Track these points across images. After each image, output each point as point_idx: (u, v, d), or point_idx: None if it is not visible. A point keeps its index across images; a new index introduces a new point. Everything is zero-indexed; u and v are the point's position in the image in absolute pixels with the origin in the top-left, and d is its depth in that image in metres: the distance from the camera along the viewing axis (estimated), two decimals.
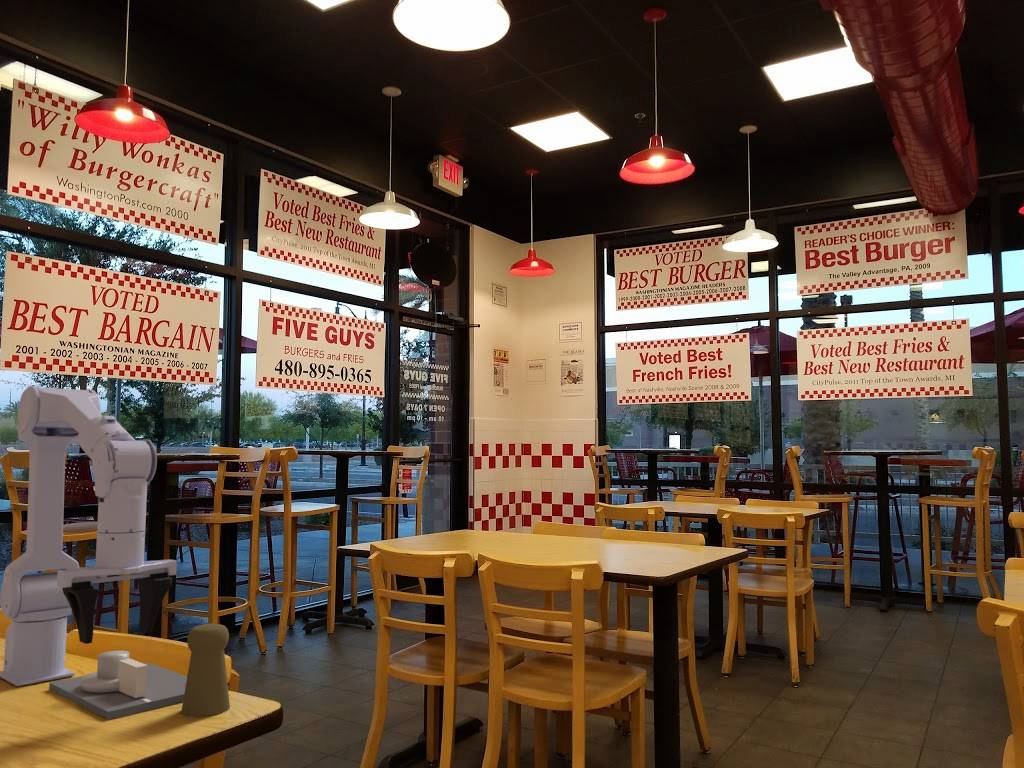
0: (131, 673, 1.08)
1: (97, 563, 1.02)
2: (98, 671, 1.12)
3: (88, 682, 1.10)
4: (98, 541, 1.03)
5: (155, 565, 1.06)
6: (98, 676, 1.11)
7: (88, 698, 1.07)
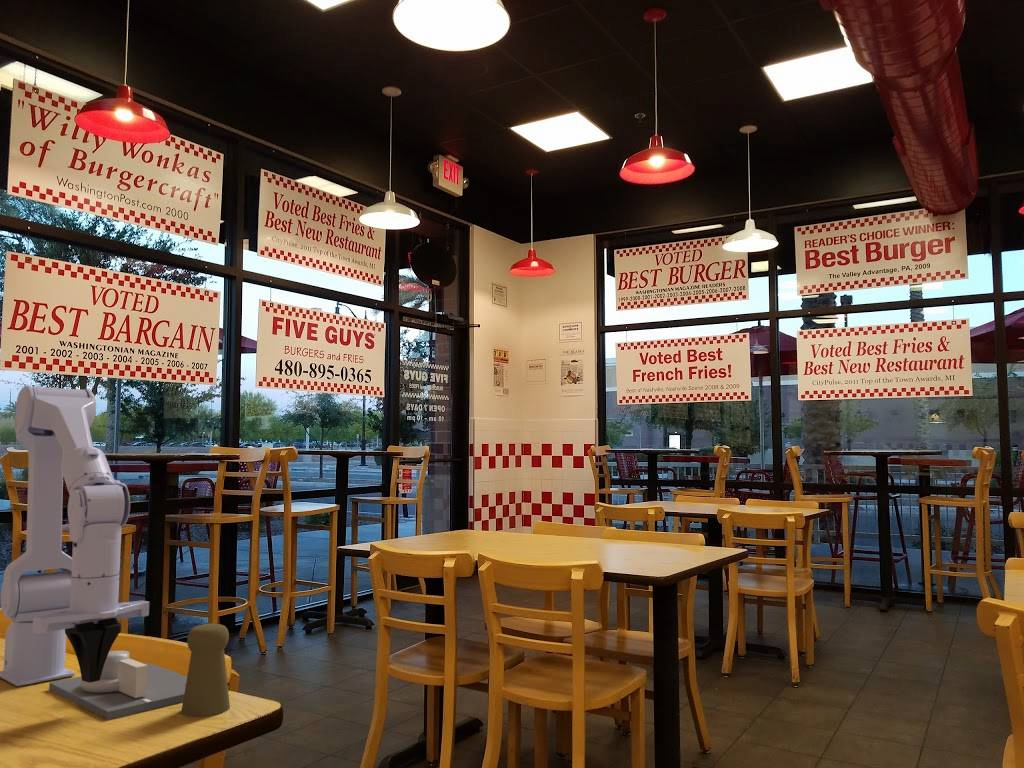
0: (131, 673, 1.08)
1: (72, 608, 1.03)
2: None
3: (88, 682, 1.10)
4: (73, 586, 1.04)
5: (129, 607, 1.08)
6: None
7: (88, 698, 1.07)
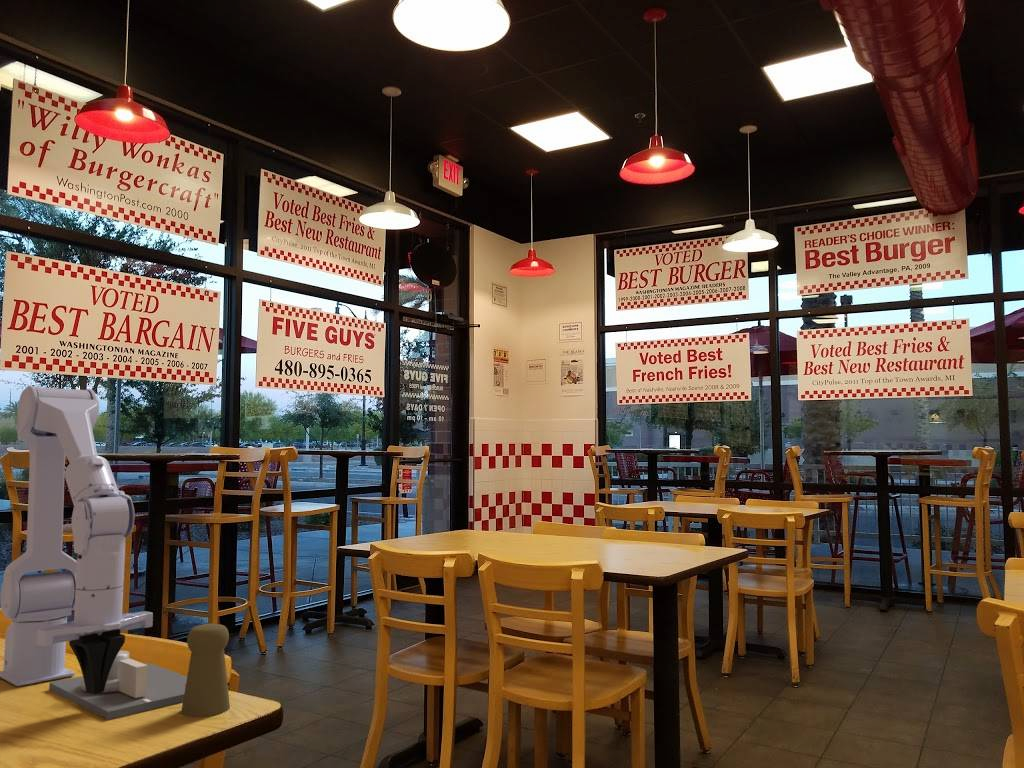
0: (131, 673, 1.08)
1: (77, 620, 1.04)
2: None
3: None
4: (77, 598, 1.04)
5: (133, 619, 1.08)
6: None
7: (88, 698, 1.07)
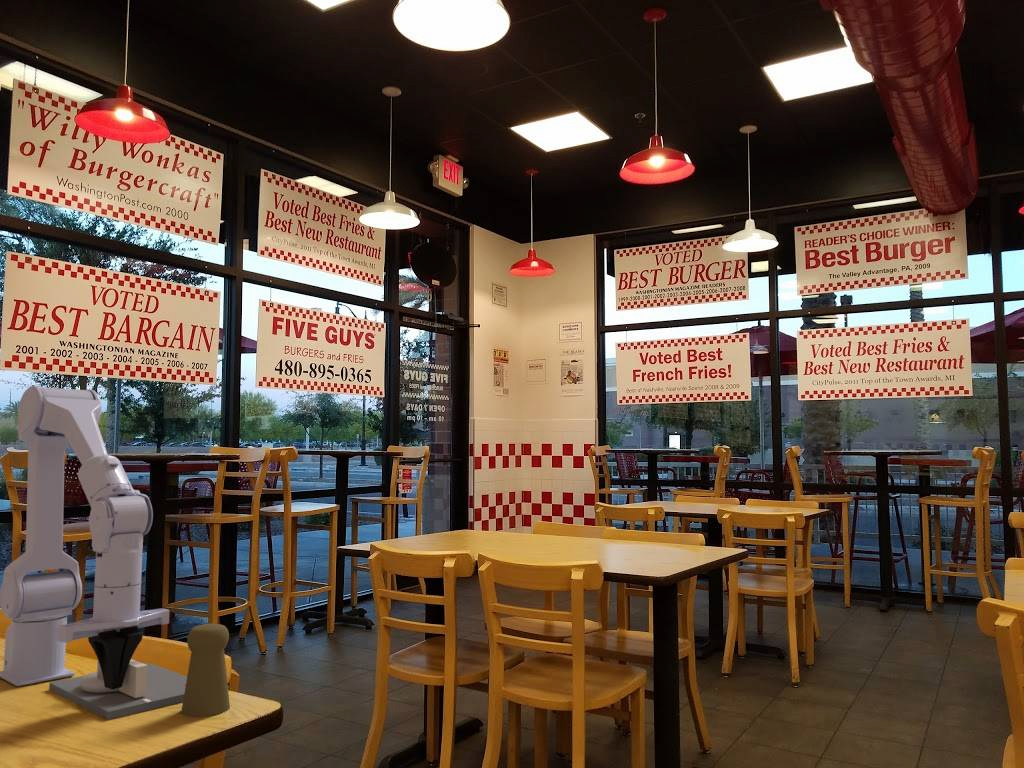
0: (131, 673, 1.08)
1: (96, 617, 1.06)
2: (98, 671, 1.12)
3: (88, 682, 1.10)
4: (96, 595, 1.06)
5: (150, 616, 1.10)
6: (98, 676, 1.11)
7: (88, 698, 1.07)
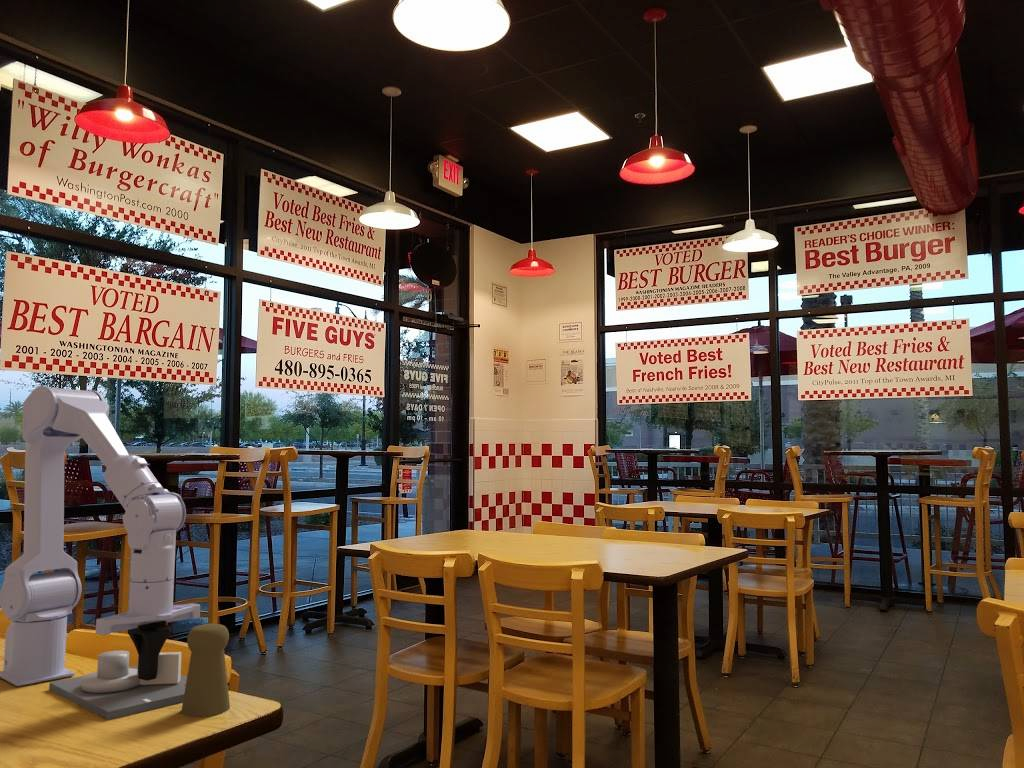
0: (166, 662, 1.13)
1: (131, 611, 1.10)
2: (107, 672, 1.11)
3: (110, 682, 1.09)
4: (132, 590, 1.10)
5: (183, 610, 1.14)
6: (108, 677, 1.11)
7: (88, 698, 1.07)
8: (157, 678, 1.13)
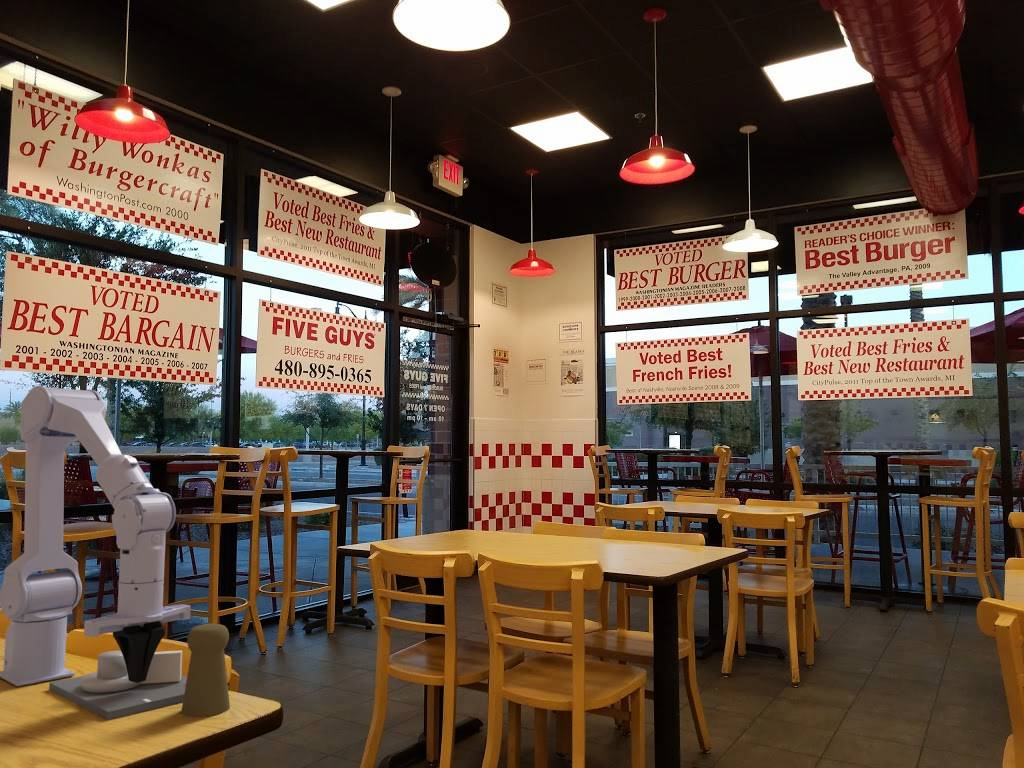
0: (168, 661, 1.14)
1: (120, 612, 1.09)
2: (109, 672, 1.11)
3: (114, 682, 1.10)
4: (121, 591, 1.09)
5: (173, 611, 1.13)
6: (110, 677, 1.11)
7: (88, 698, 1.07)
8: (159, 677, 1.14)
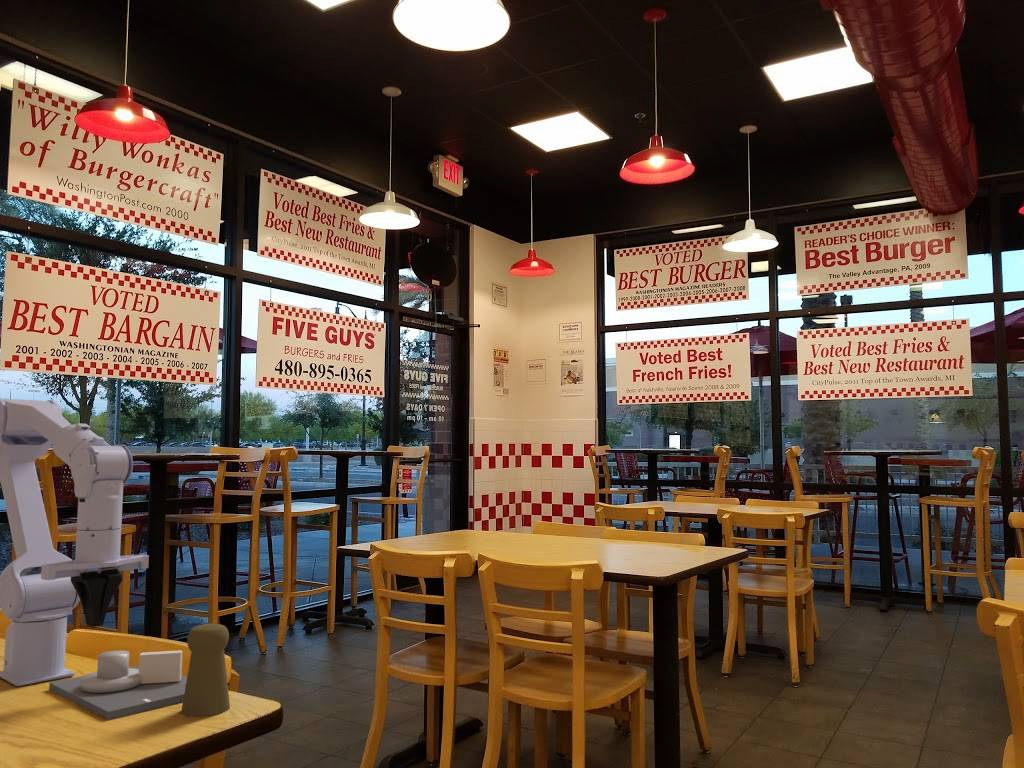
0: (168, 661, 1.14)
1: (78, 558, 1.12)
2: (109, 672, 1.11)
3: (114, 682, 1.10)
4: (78, 538, 1.12)
5: (130, 559, 1.16)
6: (110, 677, 1.11)
7: (88, 698, 1.07)
8: (159, 677, 1.14)
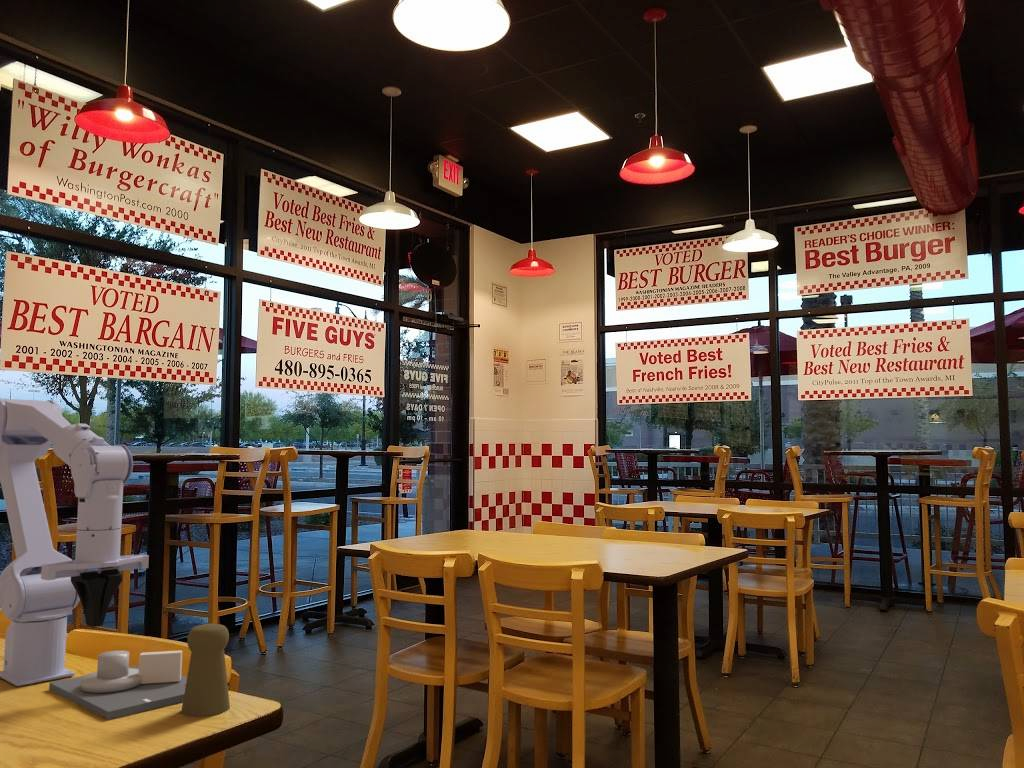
0: (168, 661, 1.14)
1: (78, 558, 1.12)
2: (109, 672, 1.11)
3: (114, 682, 1.10)
4: (78, 538, 1.12)
5: (130, 559, 1.16)
6: (110, 677, 1.11)
7: (88, 698, 1.07)
8: (159, 677, 1.14)
